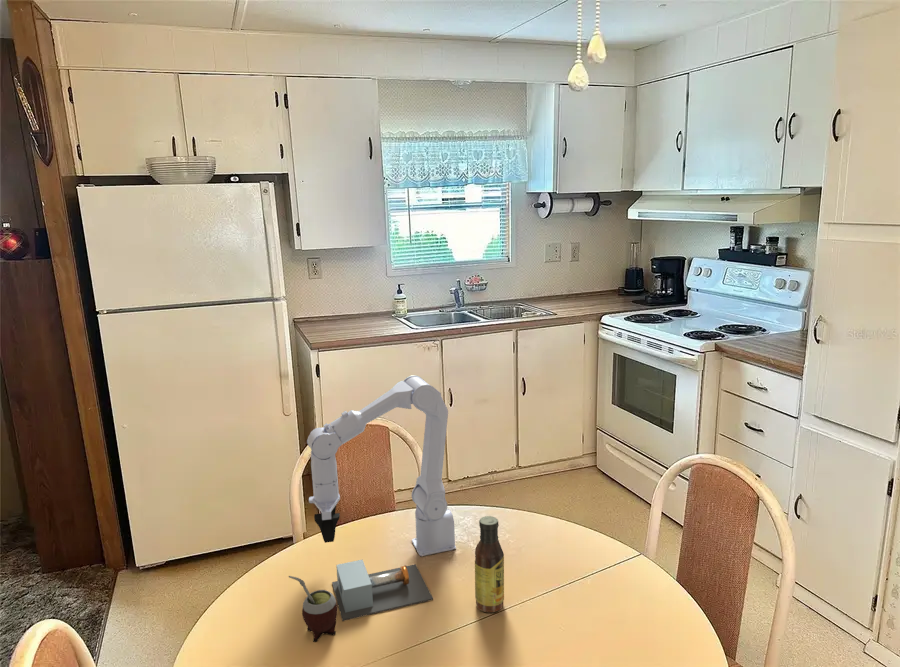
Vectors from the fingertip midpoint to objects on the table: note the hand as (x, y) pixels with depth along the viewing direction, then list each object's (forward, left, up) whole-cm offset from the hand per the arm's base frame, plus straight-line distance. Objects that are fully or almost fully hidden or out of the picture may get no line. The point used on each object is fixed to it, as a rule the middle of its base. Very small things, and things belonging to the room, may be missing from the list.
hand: (329, 532), depth 149 cm
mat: (-9, +12, -10) cm, 18 cm away
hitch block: (-3, +12, -10) cm, 16 cm away
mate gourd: (+6, +21, -10) cm, 24 cm away
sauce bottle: (-30, +25, -10) cm, 41 cm away
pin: (-10, +12, -9) cm, 18 cm away
